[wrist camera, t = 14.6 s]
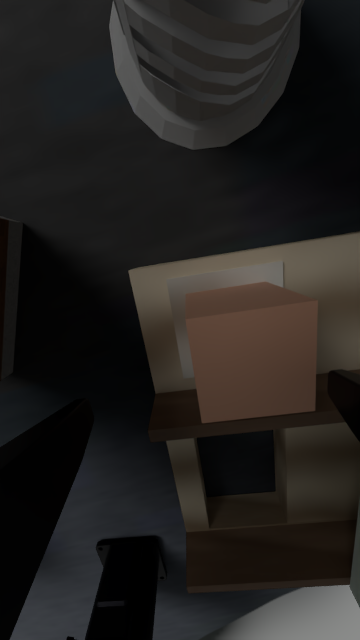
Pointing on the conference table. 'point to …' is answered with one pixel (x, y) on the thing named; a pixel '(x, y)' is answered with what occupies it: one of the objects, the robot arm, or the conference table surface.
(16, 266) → the tall white pillar
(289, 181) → the conference table surface
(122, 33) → the french press
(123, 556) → the robot arm
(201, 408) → the block
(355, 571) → the lid
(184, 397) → the cardboard tray
